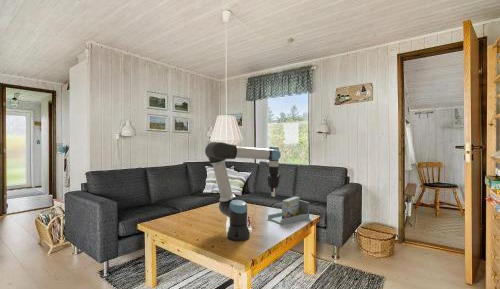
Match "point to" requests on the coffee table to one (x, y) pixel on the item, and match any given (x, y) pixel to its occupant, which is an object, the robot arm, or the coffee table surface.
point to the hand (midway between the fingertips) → (273, 196)
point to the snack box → (290, 207)
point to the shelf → (302, 215)
